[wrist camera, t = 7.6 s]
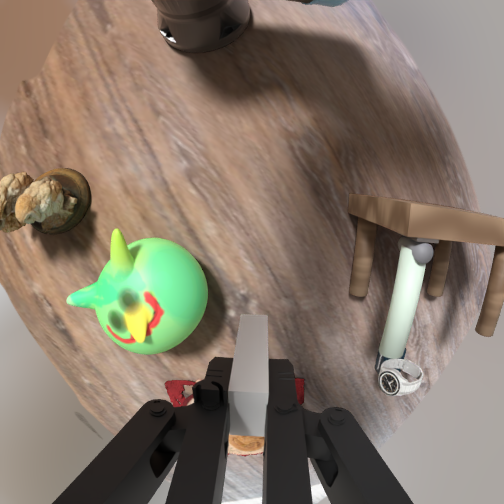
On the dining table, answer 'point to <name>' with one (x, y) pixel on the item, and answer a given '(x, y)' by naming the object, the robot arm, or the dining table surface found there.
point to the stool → (432, 231)
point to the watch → (397, 375)
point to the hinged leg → (404, 295)
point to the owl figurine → (43, 201)
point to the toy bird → (147, 294)
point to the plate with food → (236, 442)
